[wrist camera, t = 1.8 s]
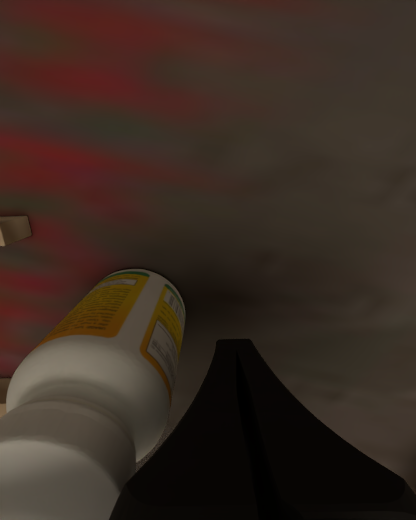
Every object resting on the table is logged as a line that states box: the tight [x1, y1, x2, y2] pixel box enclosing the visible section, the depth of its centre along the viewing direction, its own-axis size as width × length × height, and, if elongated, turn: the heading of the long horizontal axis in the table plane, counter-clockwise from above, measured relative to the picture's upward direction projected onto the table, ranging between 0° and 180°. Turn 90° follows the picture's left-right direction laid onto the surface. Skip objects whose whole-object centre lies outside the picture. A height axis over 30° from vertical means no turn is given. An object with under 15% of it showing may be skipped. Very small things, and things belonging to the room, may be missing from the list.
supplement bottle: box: [0, 269, 185, 520], centre depth 11 cm, size 5×5×10 cm
